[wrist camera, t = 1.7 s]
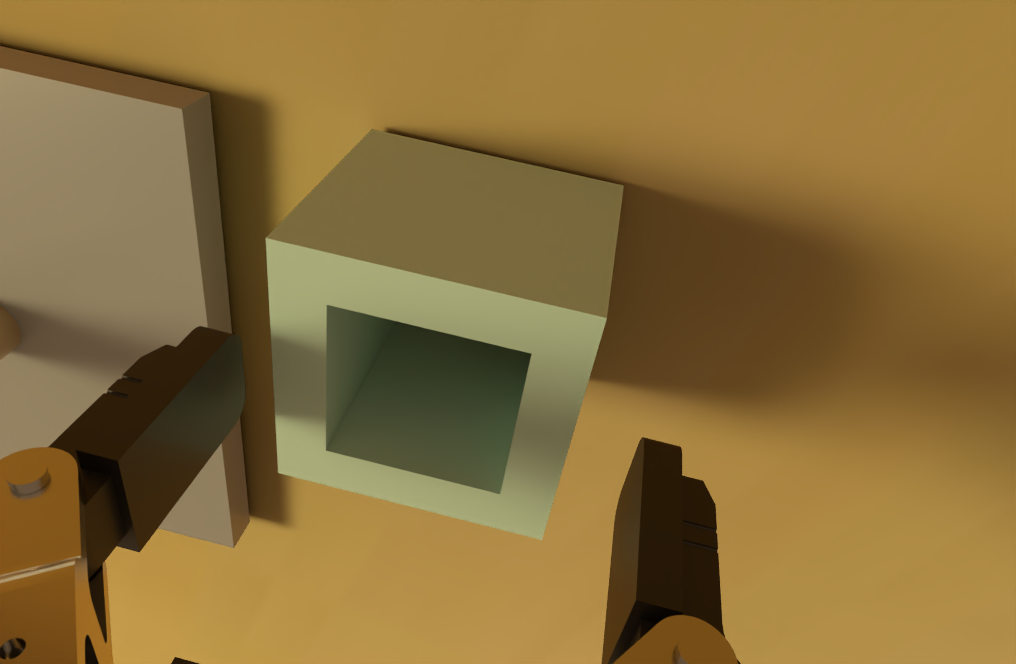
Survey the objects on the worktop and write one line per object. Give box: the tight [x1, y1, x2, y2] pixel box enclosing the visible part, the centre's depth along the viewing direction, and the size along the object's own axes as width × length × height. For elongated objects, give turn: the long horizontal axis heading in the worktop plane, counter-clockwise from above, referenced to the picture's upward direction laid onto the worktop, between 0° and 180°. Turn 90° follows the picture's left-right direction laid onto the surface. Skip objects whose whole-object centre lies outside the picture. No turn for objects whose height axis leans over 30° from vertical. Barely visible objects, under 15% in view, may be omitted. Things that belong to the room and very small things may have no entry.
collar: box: [266, 129, 624, 540], centre depth 16 cm, size 6×6×6 cm
